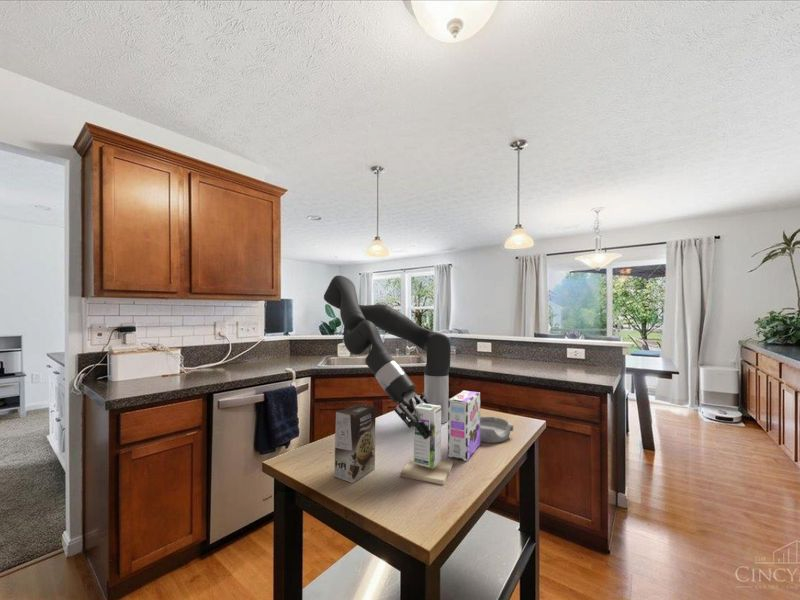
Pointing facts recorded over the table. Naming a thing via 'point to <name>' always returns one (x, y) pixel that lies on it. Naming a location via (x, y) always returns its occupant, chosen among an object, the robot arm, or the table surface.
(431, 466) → the syrup box
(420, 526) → the table surface
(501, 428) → the dish
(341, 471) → the grey cardboard box
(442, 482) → the maple board
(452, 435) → the candy box
